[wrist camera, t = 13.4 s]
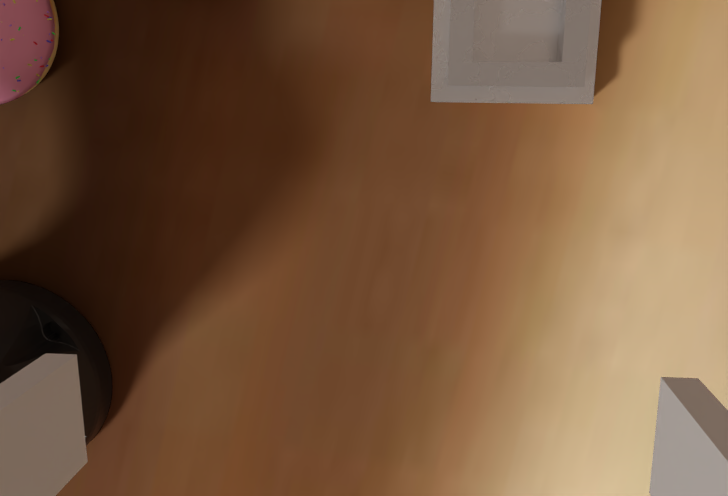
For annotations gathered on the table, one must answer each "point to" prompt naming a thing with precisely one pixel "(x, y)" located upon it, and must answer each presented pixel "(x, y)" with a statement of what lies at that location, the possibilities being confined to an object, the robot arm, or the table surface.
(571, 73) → the grey square socket base
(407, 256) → the table surface
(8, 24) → the doughnut
